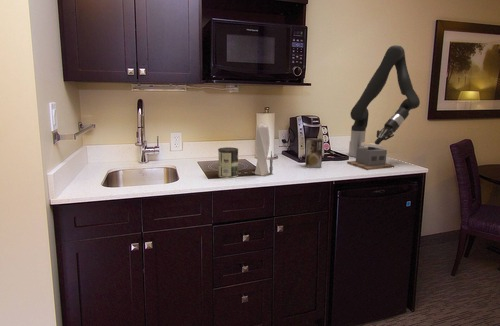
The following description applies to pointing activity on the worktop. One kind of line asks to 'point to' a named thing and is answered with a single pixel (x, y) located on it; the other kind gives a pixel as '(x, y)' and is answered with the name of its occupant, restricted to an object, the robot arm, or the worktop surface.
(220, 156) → the coffee can
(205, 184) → the worktop surface
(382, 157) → the switch block
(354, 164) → the base board
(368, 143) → the rocker
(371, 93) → the robot arm
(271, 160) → the skyscraper
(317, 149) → the coffee box
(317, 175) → the worktop surface
